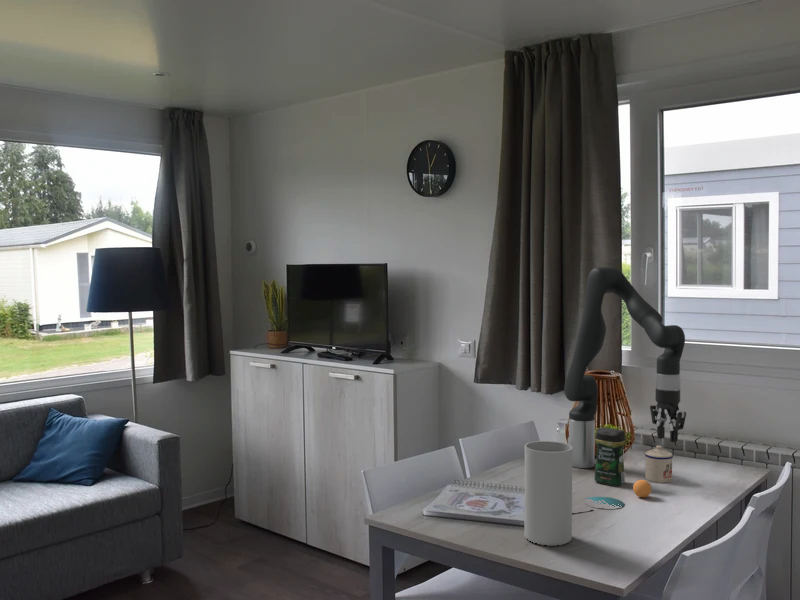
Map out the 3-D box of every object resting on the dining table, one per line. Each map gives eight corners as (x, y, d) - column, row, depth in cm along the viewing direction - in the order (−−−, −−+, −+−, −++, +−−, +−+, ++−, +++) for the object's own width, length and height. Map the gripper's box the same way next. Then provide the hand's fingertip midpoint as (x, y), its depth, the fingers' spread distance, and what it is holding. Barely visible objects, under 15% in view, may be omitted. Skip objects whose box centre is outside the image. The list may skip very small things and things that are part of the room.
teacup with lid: (668, 484, 248) (668, 450, 247) (641, 480, 253) (641, 446, 252) (677, 476, 257) (678, 443, 257) (651, 472, 263) (651, 440, 262)
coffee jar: (591, 482, 250) (591, 428, 250) (601, 477, 257) (601, 424, 256) (618, 488, 244) (618, 432, 243) (628, 482, 250) (628, 428, 250)
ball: (629, 495, 236) (629, 478, 236) (643, 493, 238) (643, 476, 238) (641, 500, 231) (641, 483, 231) (655, 498, 233) (655, 481, 233)
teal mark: (576, 500, 232) (576, 499, 232) (606, 495, 236) (606, 494, 236) (600, 511, 221) (600, 510, 221) (632, 506, 225) (632, 505, 225)
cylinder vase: (541, 550, 191) (542, 454, 190) (515, 534, 202) (515, 443, 201) (581, 542, 196) (581, 449, 195) (553, 527, 207) (554, 439, 206)
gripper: (643, 385, 242) (642, 436, 243) (675, 391, 229) (674, 446, 230) (660, 383, 245) (660, 434, 246) (693, 390, 232) (693, 443, 233)
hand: (667, 439), depth 238 cm, fingers open, 5 cm apart
